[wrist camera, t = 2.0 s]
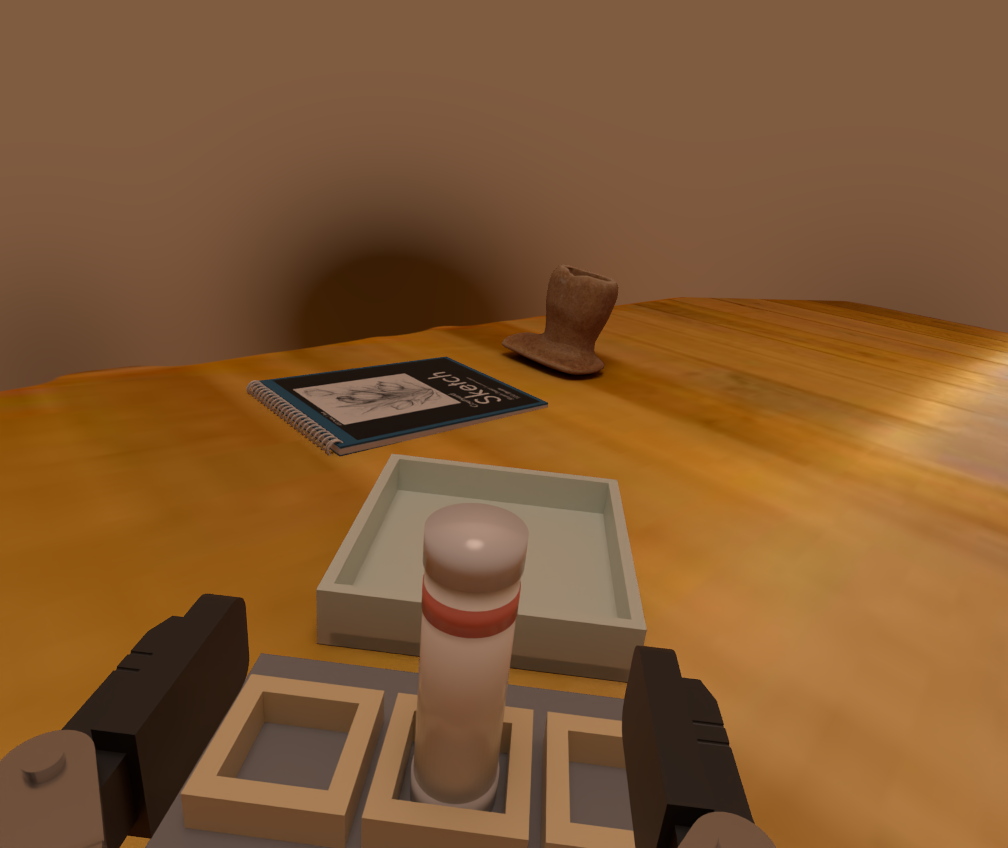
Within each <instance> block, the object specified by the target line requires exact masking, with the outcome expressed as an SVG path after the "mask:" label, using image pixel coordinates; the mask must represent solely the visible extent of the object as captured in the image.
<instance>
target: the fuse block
mask: <svg viewBox="0 0 1008 848" xmlns="http://www.w3.org/2000/svg"><path fill="white" fill-rule="evenodd" d="M418 677H419V673H413V672H405V671H397V670H389V669H381V668H373V667H365V666H357V665H349V664H342V663H334V662H326V661H318V660H310V659H302V658H294V657H286V656H278V655H270V654H262V653H261V654H260V656H259V658H258V659H257V661H256V663H255V665H254V666H253V668H252V670H251V671H250V673H249V675H248V676H247V678H246V680H245V682H244V684H243V686H242V688H241V690H240V692H239V694H238V695H237V697H236V699H235V700H234V702H233V704H232V705H231V707H230V709H229V710H228V712H227V714H226V715H225V717H224V719H223V720H222V722H221V724H220V725H219V727H218V729H217V730H216V732H215V734H214V735H213V737H212V739H211V740H210V742H209V744H208V745H207V747H206V749H205V750H204V752H203V754H202V755H201V757H200V759H199V760H198V762H197V764H196V765H195V767H194V769H193V770H192V772H191V774H190V775H189V777H188V779H187V780H186V782H185V783H184V785H183V787H182V788H181V790H180V792H179V793H178V795H177V797H176V798H175V800H174V802H173V803H172V805H171V807H170V808H169V810H168V812H167V813H166V815H165V817H164V818H163V820H162V822H161V823H160V825H159V827H158V828H157V830H156V832H155V833H154V835H153V837H152V838H151V839H150V841H149V842H148V844H147V846H146V847H145V848H635V841H634V832H633V824H632V816H631V807H630V799H629V791H628V782H627V774H626V765H625V757H624V749H623V740H622V711H623V703H624V699H620V698H612V697H604V696H596V695H588V694H580V693H572V692H564V691H556V690H548V689H540V688H532V687H524V686H516V685H508V687H507V695H506V703H505V711H504V720H503V728H502V736H501V744H500V752H499V779H498V787H497V795H496V801H495V804H494V807H493V809H492V811H491V812H487V811H479V810H472V809H464V808H456V807H449V806H441V805H434V804H426V803H418V802H411V799H410V779H411V764H412V759H413V756H414V748H415V730H416V712H417V695H418Z"/></svg>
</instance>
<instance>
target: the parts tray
mask: <svg viewBox="0 0 1008 848" xmlns="http://www.w3.org/2000/svg"><path fill="white" fill-rule="evenodd" d="M460 503H482V504H488V505H493V506H497V507H500V508H503V509H506V510H508V511H510V512H512V513H514V514H515V515H517V516H518V517H519V518H521V519H522V520H523V521H524V523H525V524H526V526H527V528H528V531H529V536H528V544H527V553H526V561H525V568H524V572H523V575H522V576H521V580H520V581H521V591H520V599H519V607H518V614H517V617H516V621H515V629H514V638H513V646H512V654H511V662H510V668H517V669H525V670H533V671H541V672H549V673H557V674H565V675H573V676H581V677H589V678H597V679H605V680H613V681H621V682H628V678H629V673H630V667H631V662H632V657H633V653H634V649H635V647H636V646H637V645H638V646H643V645H644V640H645V636H646V631H647V629H646V624H645V619H644V614H643V609H642V604H641V599H640V594H639V588H638V583H637V578H636V573H635V568H634V563H633V558H632V553H631V548H630V543H629V538H628V533H627V527H626V522H625V517H624V512H623V507H622V502H621V497H620V492H619V487H618V482H617V480H613V479H604V478H595V477H587V476H578V475H569V474H561V473H552V472H543V471H535V470H526V469H517V468H509V467H500V466H492V465H483V464H474V463H466V462H457V461H448V460H440V459H431V458H422V457H414V456H405V455H396V454H392V455H391V456H390V458H389V460H388V462H387V464H386V465H385V467H384V469H383V471H382V473H381V474H380V476H379V478H378V480H377V482H376V483H375V485H374V487H373V489H372V491H371V492H370V494H369V496H368V498H367V500H366V501H365V503H364V505H363V507H362V509H361V510H360V512H359V514H358V516H357V518H356V519H355V521H354V523H353V525H352V527H351V528H350V530H349V532H348V534H347V536H346V537H345V539H344V541H343V543H342V545H341V546H340V548H339V550H338V552H337V554H336V555H335V557H334V559H333V561H332V563H331V564H330V566H329V568H328V570H327V572H326V573H325V575H324V577H323V579H322V581H321V582H320V584H319V586H318V588H317V590H316V591H317V643H318V644H326V645H334V646H342V647H350V648H358V649H366V650H374V651H382V652H390V653H398V654H406V655H414V656H420V642H421V624H422V608H421V602H422V584H423V575H424V571H425V569H424V567H423V542H424V526H425V522H426V520H427V518H428V517H429V516H430V515H431V514H432V513H433V512H435V511H437V510H439V509H441V508H443V507H446V506H449V505H454V504H460Z"/></svg>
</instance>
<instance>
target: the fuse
mask: <svg viewBox="0 0 1008 848" xmlns="http://www.w3.org/2000/svg"><path fill="white" fill-rule="evenodd" d="M528 536H529V531H528V528H527V526H526V524H525V523H524V521H523V520H522V519H521V518H519V517H518V516H517V515H515V514H514V513H512V512H510V511H508V510H506V509H503V508H500V507H497V506H493V505H488V504H482V503H460V504H454V505H449V506H446V507H443V508H441V509H439V510H437V511H435V512H433V513H432V514H431V515H430V516H429V517H428V518H427V520H426V522H425V526H424V542H423V567H424V569H425V571H424V575H423V584H422V602H421V608H422V624H421V642H420V659H419V677H418V695H417V712H416V730H415V748H414V756H413V759H412V764H411V779H410V799H411V802H418V803H426V804H434V805H441V806H449V807H456V808H464V809H472V810H479V811H487V812H491V811H492V809H493V807H494V804H495V801H496V795H497V787H498V779H499V752H500V744H501V736H502V728H503V720H504V711H505V703H506V695H507V687H508V679H509V670H510V662H511V654H512V646H513V638H514V629H515V621H516V617H517V614H518V607H519V599H520V591H521V581H520V580H521V576H522V575H523V572H524V568H525V561H526V553H527V544H528Z"/></svg>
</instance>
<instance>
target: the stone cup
mask: <svg viewBox="0 0 1008 848" xmlns="http://www.w3.org/2000/svg"><path fill="white" fill-rule="evenodd" d="M617 296H618V285H617V283H616V281H615V280H613V279H611V278H609V277H605V276H603V275H600V274H596V273H592V272H589V271H586V270H582V269H579V268H576V267H573V266H568V265H560V266H558V267H557V268H556V269H555V270H554V271H553V273H552V275H551V278H550V281H549V285H548V290H547V299H546V328H545V332H544V333H543V334H534V333H518V334H514V335H511V336H509V337H507V338H505V339H504V340H503V342H502V345H503V346H504V347H506V348H508V349H510V350H512V351H514V352H516V353H518V354H520V355H522V356H524V357H526V358H528V359H531V360H533V361H535V362H538V363H540V364H542V365H545V366H547V367H550V368H552V369H556V370H558V371H561V372H565V373H569V374H578V375H579V374H591V373H595V372H599V371H600V370H601V369H603V368H604V363H603V362H602V361H601V360H600V359H599V358H598V357H597V356H596V355H595V352H594V346H595V341H596V340H597V338H598V336H599V334H600V332H601V331H602V329H603V327H604V326H605V324H606V322H607V320H608V319H609V316H610V314H611V312H612V310H613V308H614V305H615V303H616V300H617Z"/></svg>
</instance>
